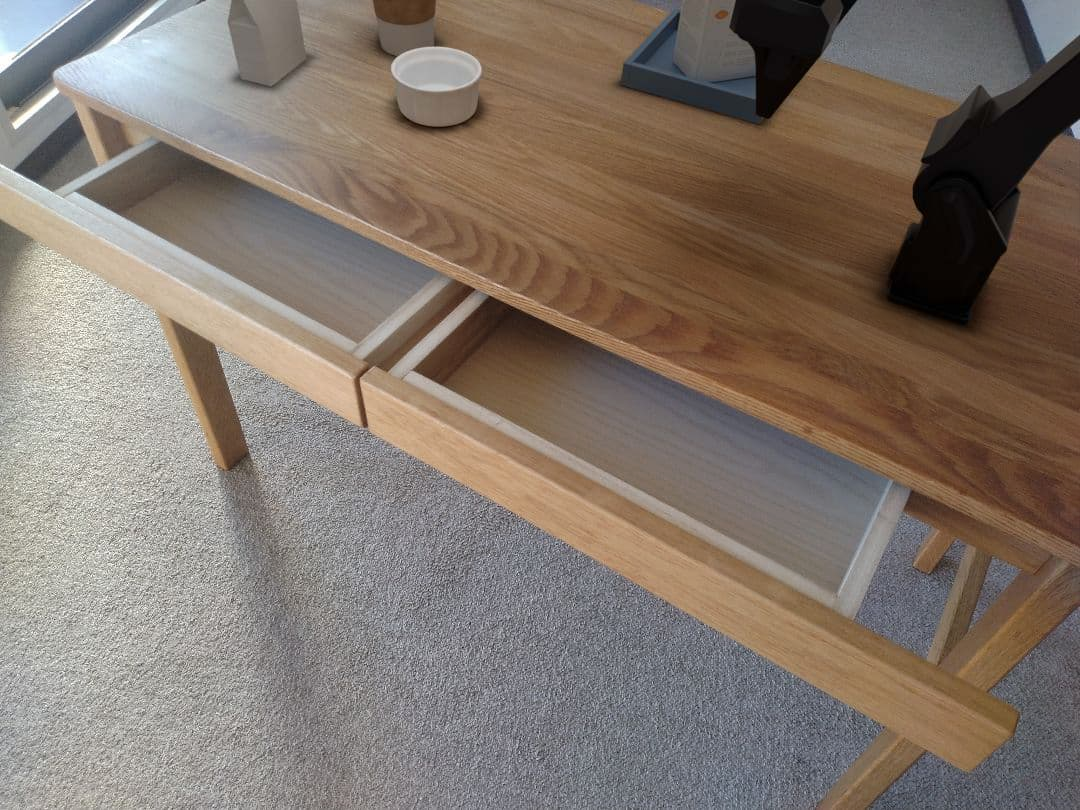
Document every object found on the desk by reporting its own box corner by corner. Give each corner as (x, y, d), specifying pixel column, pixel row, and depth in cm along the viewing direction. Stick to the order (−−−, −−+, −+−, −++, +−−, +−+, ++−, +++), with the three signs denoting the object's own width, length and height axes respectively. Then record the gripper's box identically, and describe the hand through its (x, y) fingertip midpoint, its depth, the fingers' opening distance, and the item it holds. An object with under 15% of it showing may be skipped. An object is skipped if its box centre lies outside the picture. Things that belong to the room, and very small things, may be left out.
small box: (734, 53, 95) (756, -45, 87) (758, 77, 92) (783, -23, 84) (670, 62, 93) (687, -38, 85) (692, 86, 90) (712, -16, 82)
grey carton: (306, 58, 91) (290, -39, 83) (271, 86, 86) (250, -14, 79) (277, 51, 91) (258, -46, 84) (240, 78, 87) (217, -22, 80)
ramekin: (489, 91, 88) (489, 51, 85) (472, 136, 82) (471, 94, 79) (406, 81, 88) (403, 41, 85) (384, 125, 82) (379, 83, 79)
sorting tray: (798, 62, 95) (805, 41, 94) (760, 124, 86) (766, 102, 84) (670, 29, 100) (674, 8, 98) (620, 85, 90) (623, 62, 88)
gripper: (775, -200, 60) (724, 16, 72) (680, -132, 49) (638, 111, 61) (930, -166, 58) (850, 54, 69) (865, -85, 46) (783, 160, 58)
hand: (781, 90), depth 65 cm, fingers open, 9 cm apart
